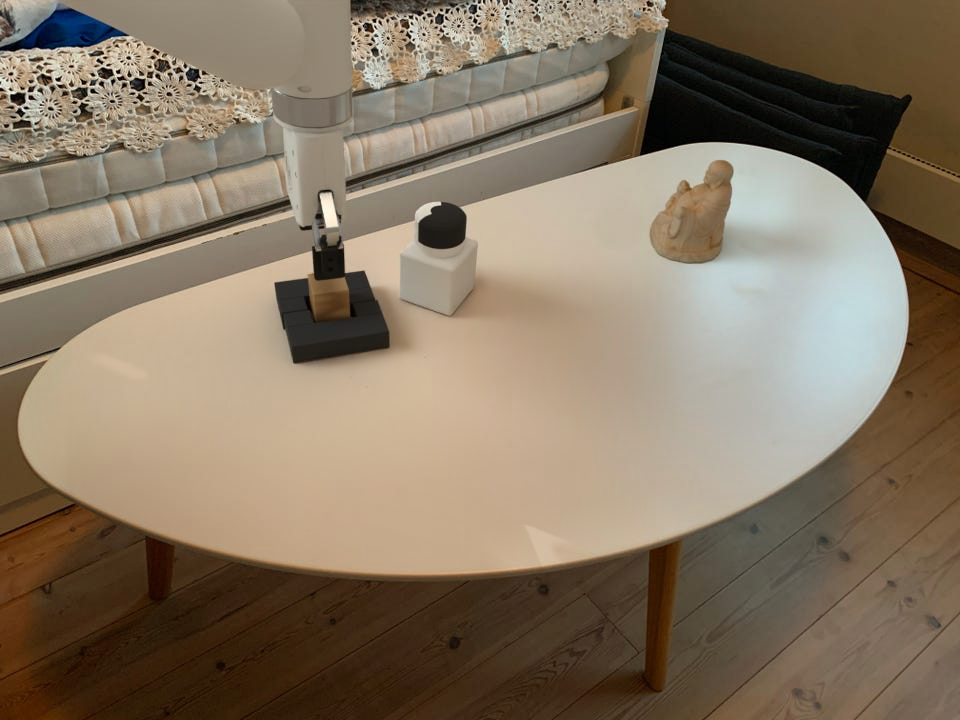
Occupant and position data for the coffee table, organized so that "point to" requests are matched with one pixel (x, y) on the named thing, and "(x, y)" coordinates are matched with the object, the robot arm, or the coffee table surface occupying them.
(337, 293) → the key
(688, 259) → the statue
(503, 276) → the coffee table surface
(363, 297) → the pad back
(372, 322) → the pad front
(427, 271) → the medicine bottle
